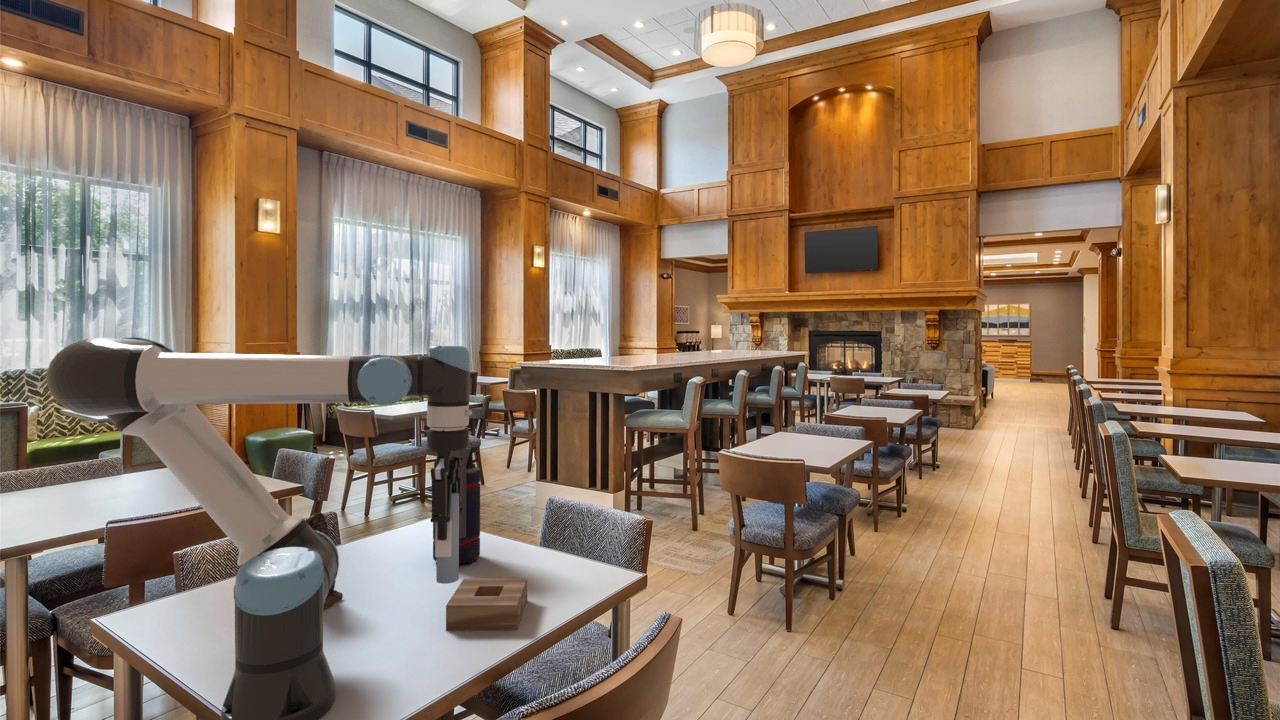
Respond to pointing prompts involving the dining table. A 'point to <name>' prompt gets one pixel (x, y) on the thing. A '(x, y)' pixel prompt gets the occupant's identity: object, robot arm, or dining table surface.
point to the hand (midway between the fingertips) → (446, 551)
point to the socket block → (487, 604)
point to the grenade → (468, 510)
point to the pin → (450, 565)
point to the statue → (320, 524)
